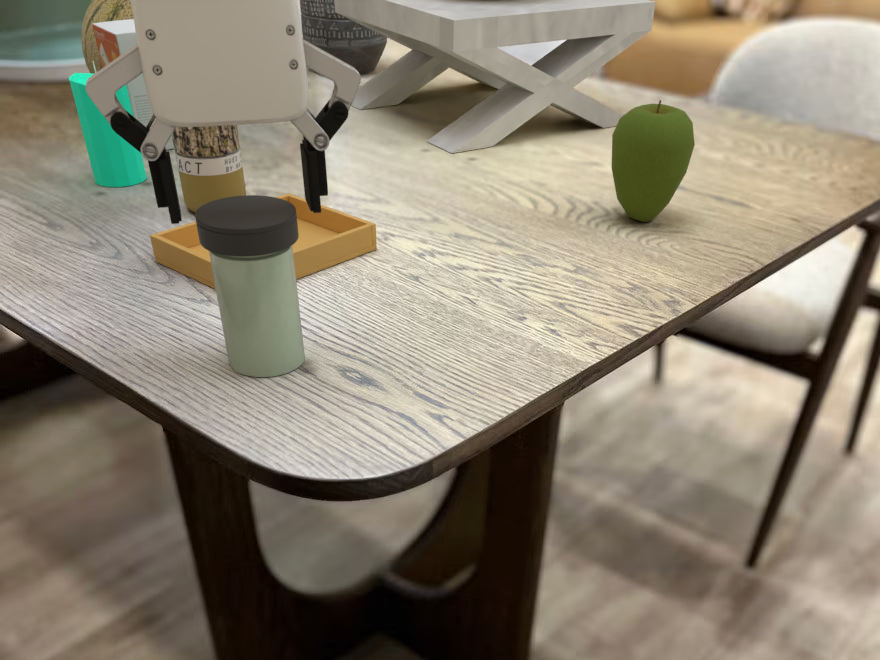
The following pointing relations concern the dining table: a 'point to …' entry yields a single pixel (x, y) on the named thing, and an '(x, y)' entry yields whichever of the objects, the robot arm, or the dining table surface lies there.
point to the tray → (315, 249)
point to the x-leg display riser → (499, 56)
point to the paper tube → (208, 163)
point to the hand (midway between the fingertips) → (245, 211)
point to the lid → (247, 225)
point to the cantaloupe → (105, 6)
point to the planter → (341, 35)
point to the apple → (650, 158)
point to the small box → (111, 45)
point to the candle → (106, 139)
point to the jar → (259, 312)
